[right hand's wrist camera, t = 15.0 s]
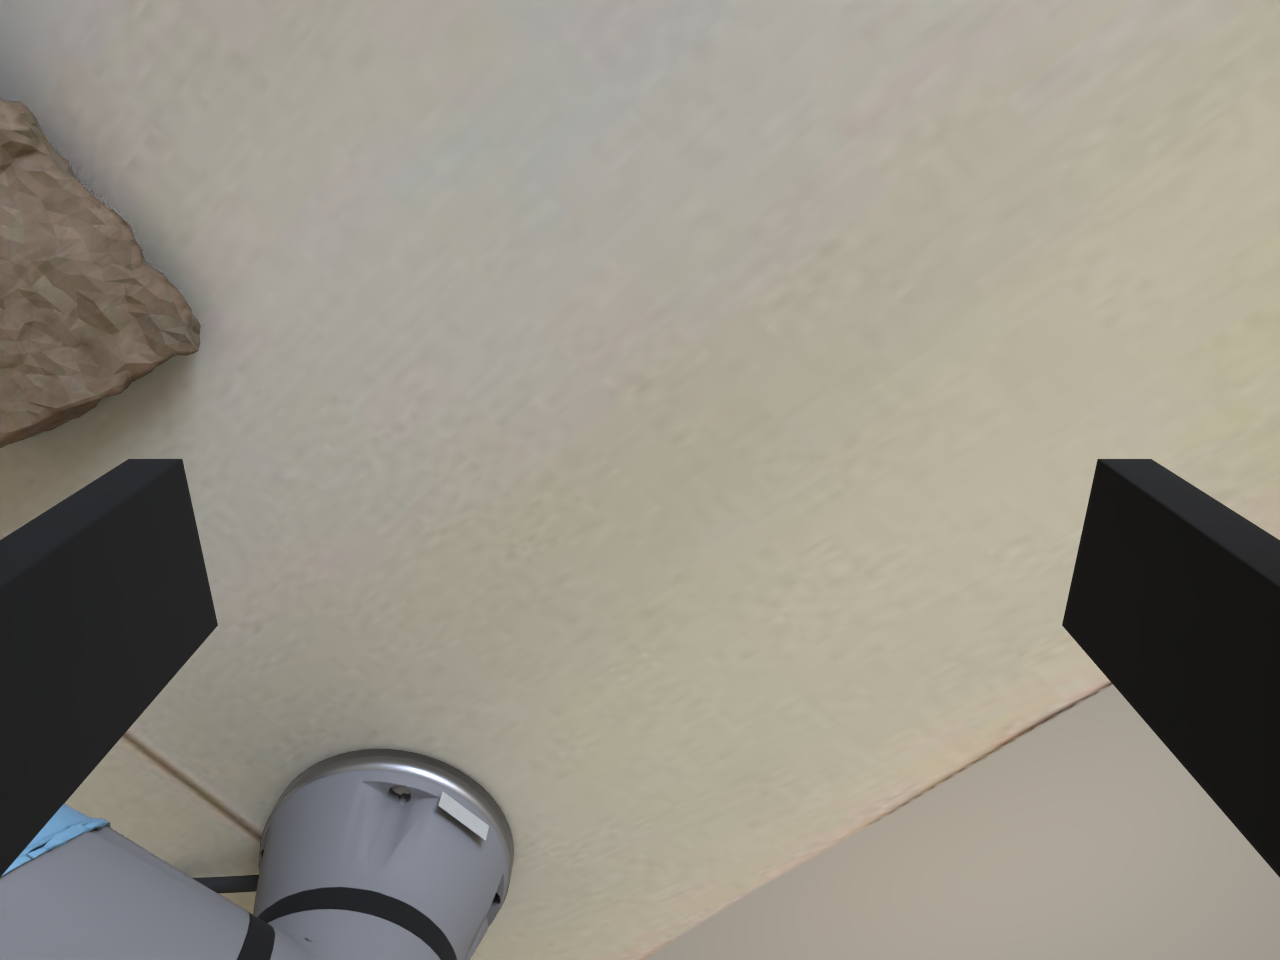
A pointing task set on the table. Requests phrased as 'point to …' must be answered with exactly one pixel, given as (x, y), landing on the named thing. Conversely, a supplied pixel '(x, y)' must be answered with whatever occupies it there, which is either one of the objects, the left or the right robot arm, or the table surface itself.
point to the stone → (71, 291)
